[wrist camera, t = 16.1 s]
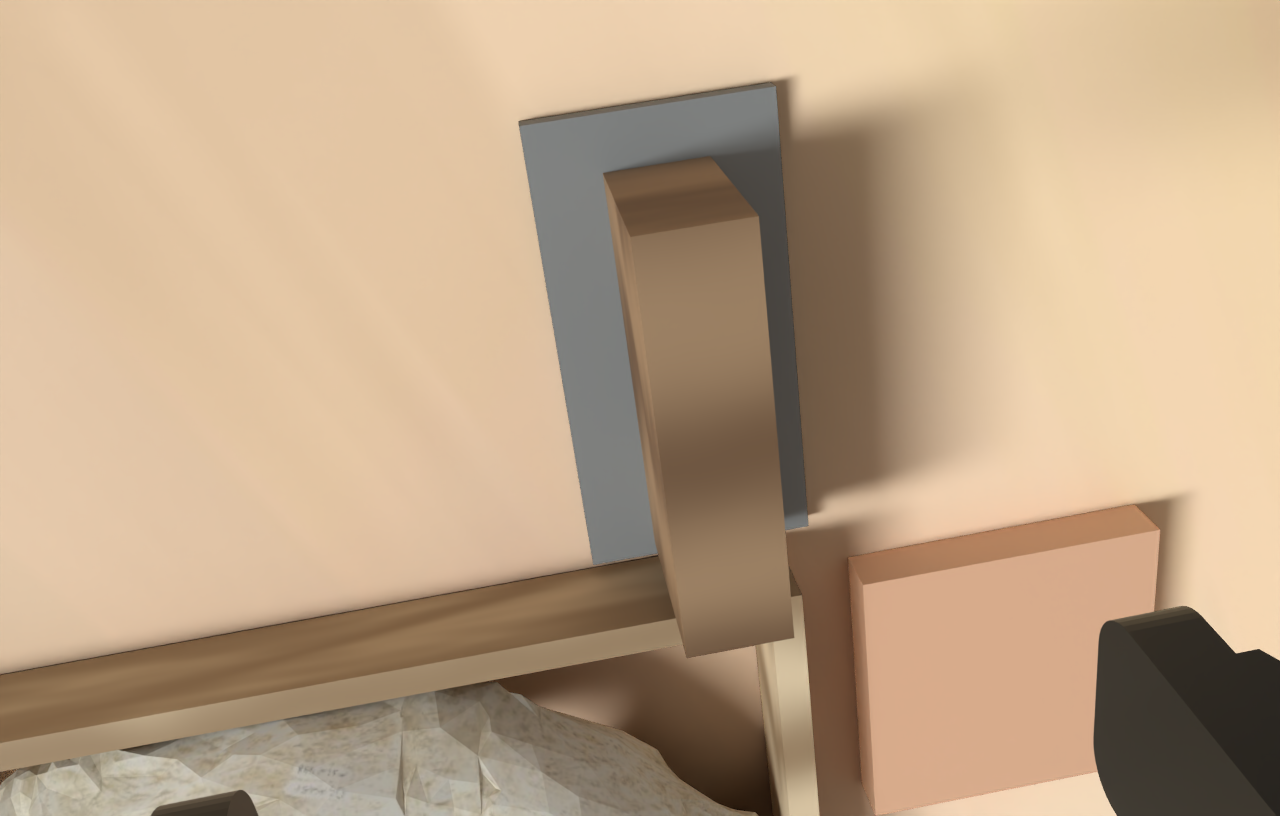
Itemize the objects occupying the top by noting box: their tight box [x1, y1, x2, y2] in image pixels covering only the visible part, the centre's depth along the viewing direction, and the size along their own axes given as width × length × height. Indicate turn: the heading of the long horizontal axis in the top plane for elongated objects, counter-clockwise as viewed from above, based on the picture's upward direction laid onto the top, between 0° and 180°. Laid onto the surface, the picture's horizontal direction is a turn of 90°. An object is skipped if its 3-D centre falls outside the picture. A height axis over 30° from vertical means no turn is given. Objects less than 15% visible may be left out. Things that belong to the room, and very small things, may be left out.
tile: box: [848, 504, 1160, 816], centre depth 42 cm, size 2×10×10 cm
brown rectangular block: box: [603, 156, 794, 658], centre depth 33 cm, size 12×3×6 cm, turn 7°
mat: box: [519, 82, 808, 565], centre depth 35 cm, size 14×7×1 cm, turn 7°
